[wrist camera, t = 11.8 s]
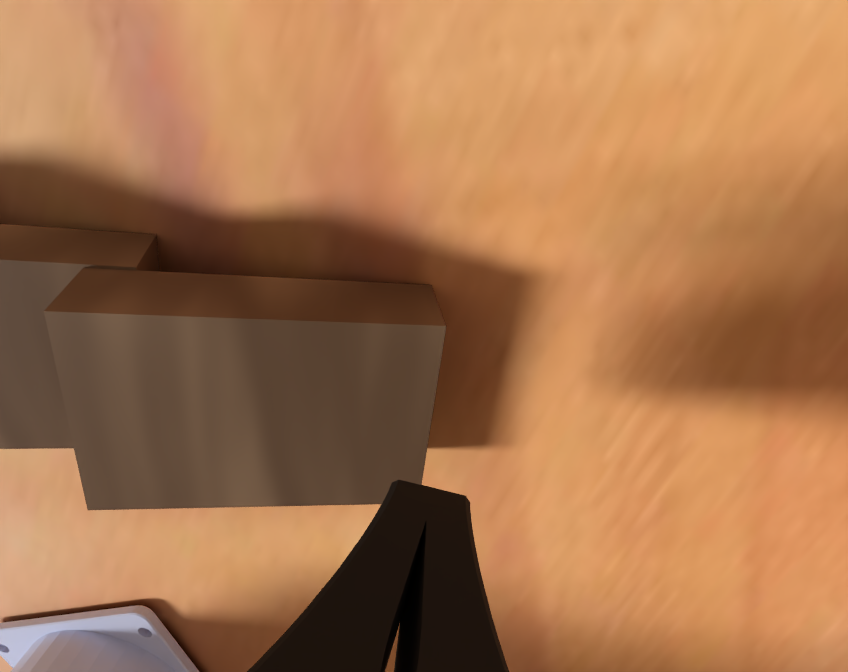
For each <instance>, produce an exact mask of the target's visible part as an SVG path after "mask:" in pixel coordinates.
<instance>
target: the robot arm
mask: <svg viewBox="0 0 848 672" xmlns="http://www.w3.org/2000/svg"><path fill="white" fill-rule="evenodd" d="M399 623H400V627H399ZM398 627H399V635H398V644H397V652H396V660H395V668H394V672H509V670H508V667H507V664H506V661H505V658H504V655H503V652H502V649H501V645H500V642H499V639H498V636H497V633H496V629H495V626H494V622H493V619H492V615H491V612H490V608H489V604H488V600H487V596H486V592H485V588H484V585H483V581H482V576H481V572H480V568H479V563H478V558H477V553H476V548H475V542H474V536H473V530H472V522H471V513H470V502H469V500H468V499H467V497H466V496H464V495H460V494H456V493H452V492H448V491H444V490H440V489H436V488H432V487H428V486H423V485H419V484H415V483H411V482H407V481H403V480H397V481H394V482H392V483H391V486H390V488H389V491H388V493H387V495H386V497H385V499H384V501H383V503H382V505H381V506H380V508H379V510H378V512H377V513H376V515H375V517H374V518H373V520H372V522H371V523H370V525H369V526H368V528H367V529H366V531H365V532H364V534H363V536H362V537H361V538H360V540H359V541H358V543H357V544H356V545H355V547H354V548H353V550H352V551H351V552H350V554H349V555H348V556H347V558H346V559H345V561H344V562H343V563H342V565H341V566H340V568H339V569H338V570H337V571H336V573H335V574H334V575H333V577H332V578H331V579H330V580H329V581H328V583H327V584H326V585H325V586H324V588H323V589H322V590H321V591H320V592H319V594H318V595H317V596H316V597H315V598H314V600H313V601H312V602H311V603H310V605H309V606H308V607H307V608H306V609H305V611H304V612H303V613H302V614H301V615H300V616H299V617H298V619H297V620H296V621H295V622H294V623H293V624H292V625H291V626H290V628H289V629H288V630H287V631H286V632H285V633H284V634H283V635H282V636H281V637H280V638H279V640H278V641H277V642H276V643H275V644H274V645H273V646H272V647H271V648H270V649H269V650H268V651H267V652H266V653H265V654H264V655H263V656H262V657H261V658H260V659H259V660H258V661H257V662H256V663H255V664H254V665H253V666H252V667H251V668H250V669H249V670H248V671H247V672H385V669H386V666H387V663H388V659H389V656H390V653H391V650H392V646H393V643H394V640H395V636H396V633H397V630H398ZM0 655H1V656H2V657H3V658H4V659H5V660H6V662H7V663H8V664H9V665H10V666H11V667H12V668H13V669H12V670H11V672H199V670H198V669H197V668H196V666H195V665H194V664H193V662H192V661H191V660H190V659H189V657H188V656H187V655H186V653H185V652H184V651H183V649H182V648H181V647H180V646H179V644H178V643H177V642H176V640H175V639H174V638H173V636H172V635H171V634H170V633H169V631H168V630H167V629H166V627H165V626H164V625H163V623H162V622H161V621H160V620H159V618H158V617H157V616H156V614H155V613H154V612H153V611H152V610H151V609H149V608H148V607H145V606H142V605H135V606H128V607H120V608H112V609H104V610H97V611H89V612H81V613H73V614H65V615H58V616H50V617H42V618H34V619H26V620H19V621H11V622H3V623H0Z"/></svg>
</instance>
